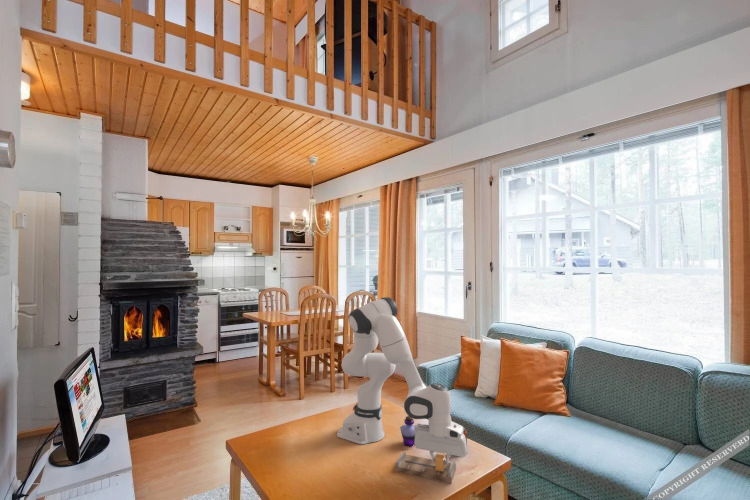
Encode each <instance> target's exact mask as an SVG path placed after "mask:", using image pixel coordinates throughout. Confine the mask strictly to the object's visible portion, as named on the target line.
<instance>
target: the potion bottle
mask: <svg viewBox="0 0 750 500" xmlns="http://www.w3.org/2000/svg"><path fill="white" fill-rule="evenodd" d="M403 421H404V422H403V423H404V424H403V425H401V426H400V427H399V430H400V434H401V437H402V441H403V446H404V447H407V446H409V447H408V448H412V446H413V445H414V442H415V432H414V427H415V425H416V424H415V419H413V418H411V417H409V416H408V415H407V416H405V419H404V420H403ZM414 446H415V445H414ZM414 446H413V447H414Z"/></svg>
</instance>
